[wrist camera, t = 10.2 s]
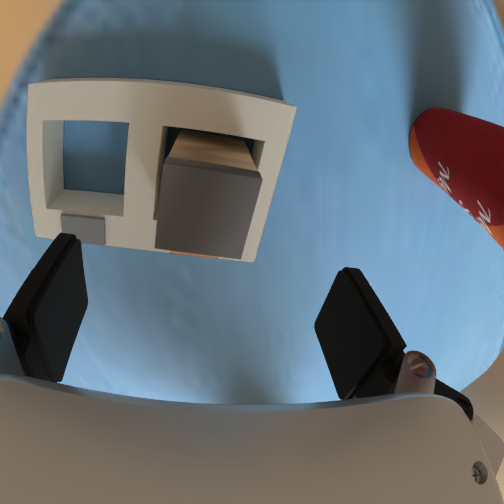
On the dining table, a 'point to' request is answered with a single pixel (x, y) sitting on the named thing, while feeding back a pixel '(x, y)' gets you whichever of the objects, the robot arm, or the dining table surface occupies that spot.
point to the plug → (207, 196)
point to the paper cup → (463, 163)
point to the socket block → (141, 152)
